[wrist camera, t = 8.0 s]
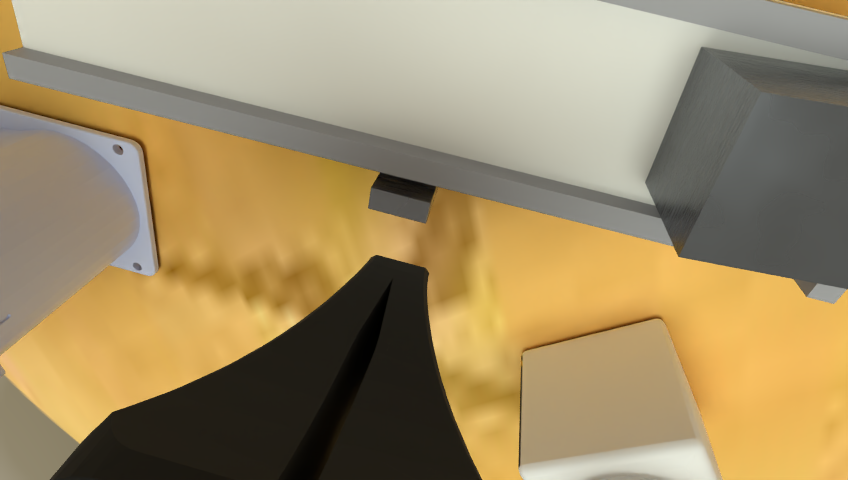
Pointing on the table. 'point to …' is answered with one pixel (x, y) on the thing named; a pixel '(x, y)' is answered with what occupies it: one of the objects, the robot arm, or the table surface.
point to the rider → (758, 167)
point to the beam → (429, 83)
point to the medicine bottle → (611, 410)
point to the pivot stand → (402, 197)
